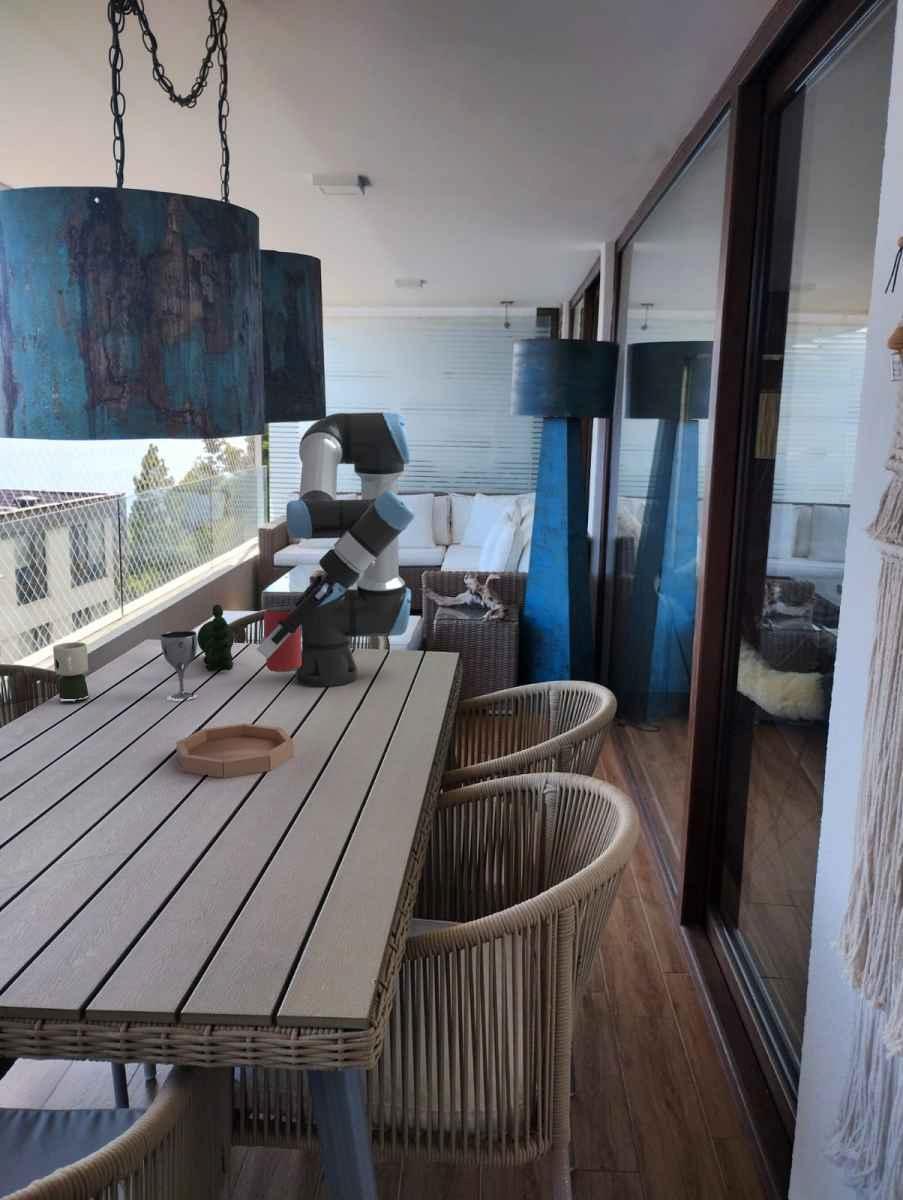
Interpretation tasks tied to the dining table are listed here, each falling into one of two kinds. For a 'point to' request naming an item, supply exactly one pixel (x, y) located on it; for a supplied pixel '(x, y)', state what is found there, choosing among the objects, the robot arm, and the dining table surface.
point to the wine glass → (179, 654)
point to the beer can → (290, 649)
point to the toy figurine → (216, 641)
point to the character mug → (71, 669)
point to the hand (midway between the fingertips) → (264, 649)
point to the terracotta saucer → (234, 750)
